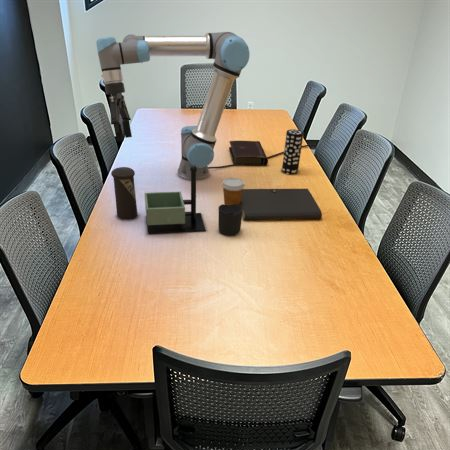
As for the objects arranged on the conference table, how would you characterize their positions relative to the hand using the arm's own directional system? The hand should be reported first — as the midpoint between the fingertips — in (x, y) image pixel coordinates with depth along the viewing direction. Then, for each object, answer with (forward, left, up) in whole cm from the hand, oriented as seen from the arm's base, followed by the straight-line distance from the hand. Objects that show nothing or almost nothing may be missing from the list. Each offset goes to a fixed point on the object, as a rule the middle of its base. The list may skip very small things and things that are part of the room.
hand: (124, 139), depth 189 cm
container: (+1, +19, -26) cm, 32 cm away
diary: (-64, -43, -26) cm, 81 cm away
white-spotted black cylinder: (-82, -22, -26) cm, 88 cm away
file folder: (-64, +18, -26) cm, 71 cm away
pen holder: (-39, +36, -26) cm, 59 cm away
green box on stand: (-18, +28, -25) cm, 42 cm away
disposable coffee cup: (-44, +16, -26) cm, 53 cm away
